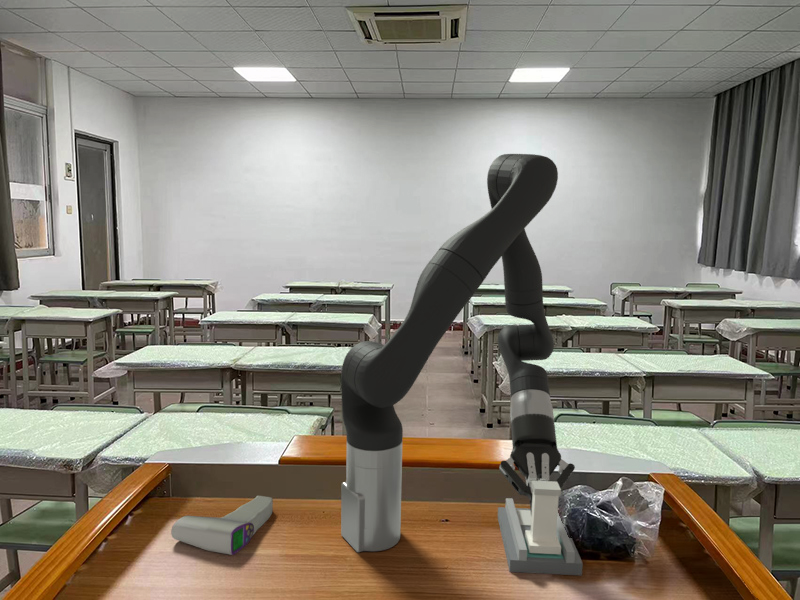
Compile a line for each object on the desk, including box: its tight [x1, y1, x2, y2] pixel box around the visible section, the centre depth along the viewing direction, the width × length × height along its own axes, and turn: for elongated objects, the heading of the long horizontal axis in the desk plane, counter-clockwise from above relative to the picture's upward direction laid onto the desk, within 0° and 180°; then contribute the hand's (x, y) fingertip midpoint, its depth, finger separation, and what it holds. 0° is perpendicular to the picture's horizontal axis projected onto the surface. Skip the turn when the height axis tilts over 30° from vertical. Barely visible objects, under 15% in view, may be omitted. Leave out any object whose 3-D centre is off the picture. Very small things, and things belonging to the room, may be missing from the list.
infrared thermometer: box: [170, 495, 274, 556], centre depth 99 cm, size 5×12×15 cm
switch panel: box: [497, 497, 584, 576], centre depth 96 cm, size 16×11×4 cm
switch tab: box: [525, 480, 562, 554], centre depth 91 cm, size 4×5×10 cm
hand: (541, 521), depth 93 cm, fingers closed
